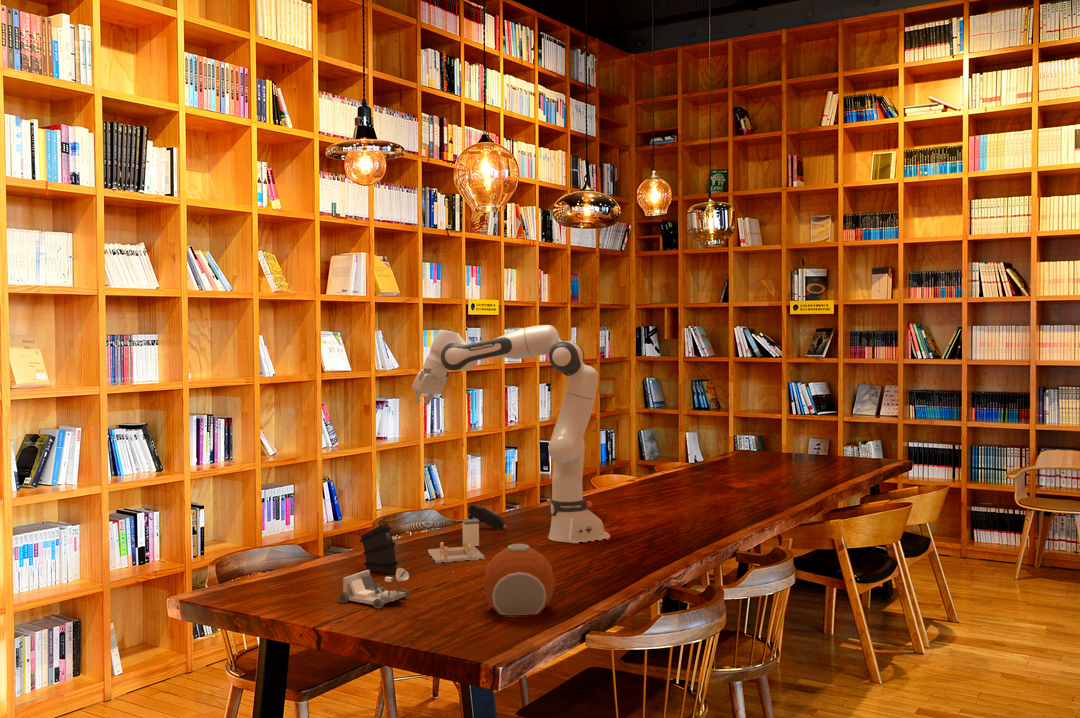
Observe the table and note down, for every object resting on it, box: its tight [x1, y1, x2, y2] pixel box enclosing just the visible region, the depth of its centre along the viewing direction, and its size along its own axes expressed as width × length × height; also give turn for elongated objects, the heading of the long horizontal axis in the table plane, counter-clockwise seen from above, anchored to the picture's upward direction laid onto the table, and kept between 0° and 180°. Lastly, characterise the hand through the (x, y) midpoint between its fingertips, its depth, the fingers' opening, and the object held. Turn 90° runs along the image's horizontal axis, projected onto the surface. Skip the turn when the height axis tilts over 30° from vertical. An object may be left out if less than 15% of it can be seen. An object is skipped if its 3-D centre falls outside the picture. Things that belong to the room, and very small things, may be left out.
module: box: [461, 518, 480, 548], centre depth 314 cm, size 5×4×9 cm
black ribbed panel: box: [359, 523, 399, 575], centre depth 280 cm, size 4×13×15 cm, turn 53°
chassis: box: [427, 540, 485, 564], centre depth 299 cm, size 16×16×4 cm
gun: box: [467, 504, 508, 530], centre depth 343 cm, size 3×16×10 cm, turn 78°
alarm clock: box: [482, 543, 556, 616], centre depth 237 cm, size 19×18×17 cm
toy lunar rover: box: [338, 567, 410, 609], centre depth 247 cm, size 18×10×12 cm
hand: (421, 403), depth 335 cm, fingers open, 8 cm apart
